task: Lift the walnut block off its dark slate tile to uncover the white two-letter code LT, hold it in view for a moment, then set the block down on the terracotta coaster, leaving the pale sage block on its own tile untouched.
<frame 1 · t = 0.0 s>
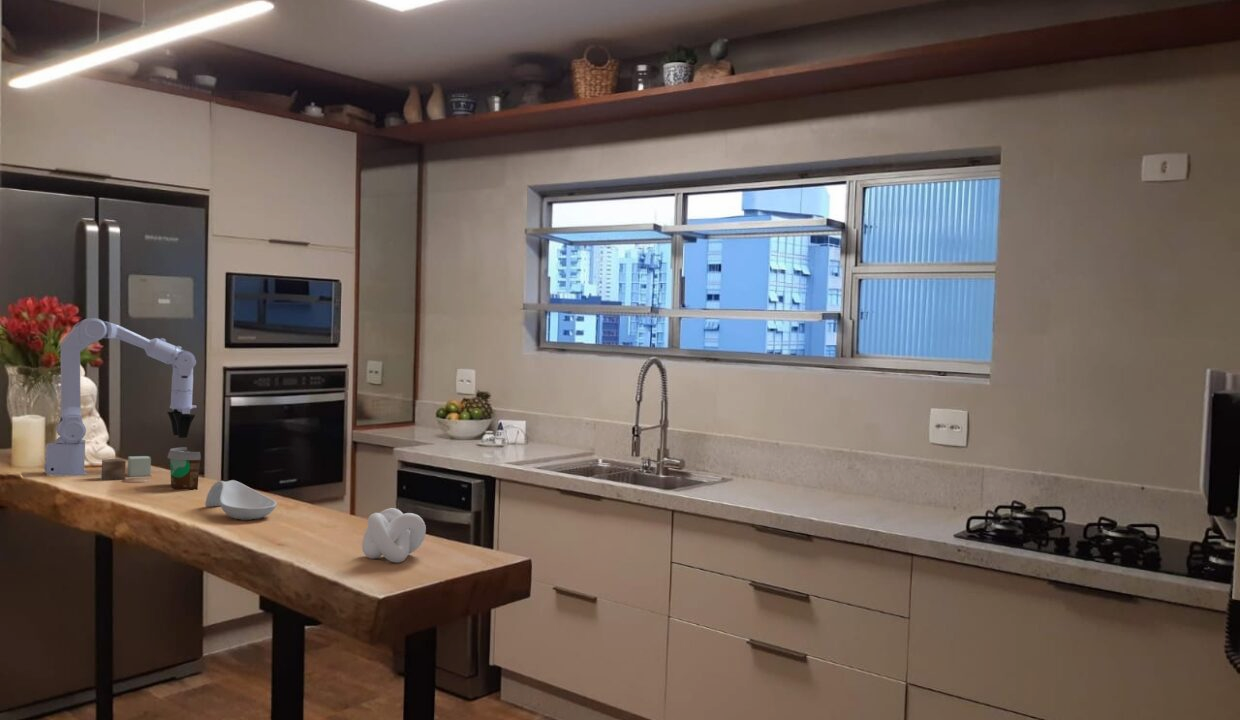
hand: (180, 436, 268), 10 cm above the worktop, tool pointing down, fingers open, 7 cm apart
grey knot sculpture: (387, 558, 172), on the worktop
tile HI: (138, 476, 254), on the worktop
walnut block: (113, 478, 246), resting on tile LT
spoon rest: (235, 515, 207), on the worktop
sage block: (138, 475, 254), resting on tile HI
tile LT: (113, 479, 246), on the worktop
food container: (179, 488, 239), on the worktop
coaster: (137, 482, 244), on the worktop
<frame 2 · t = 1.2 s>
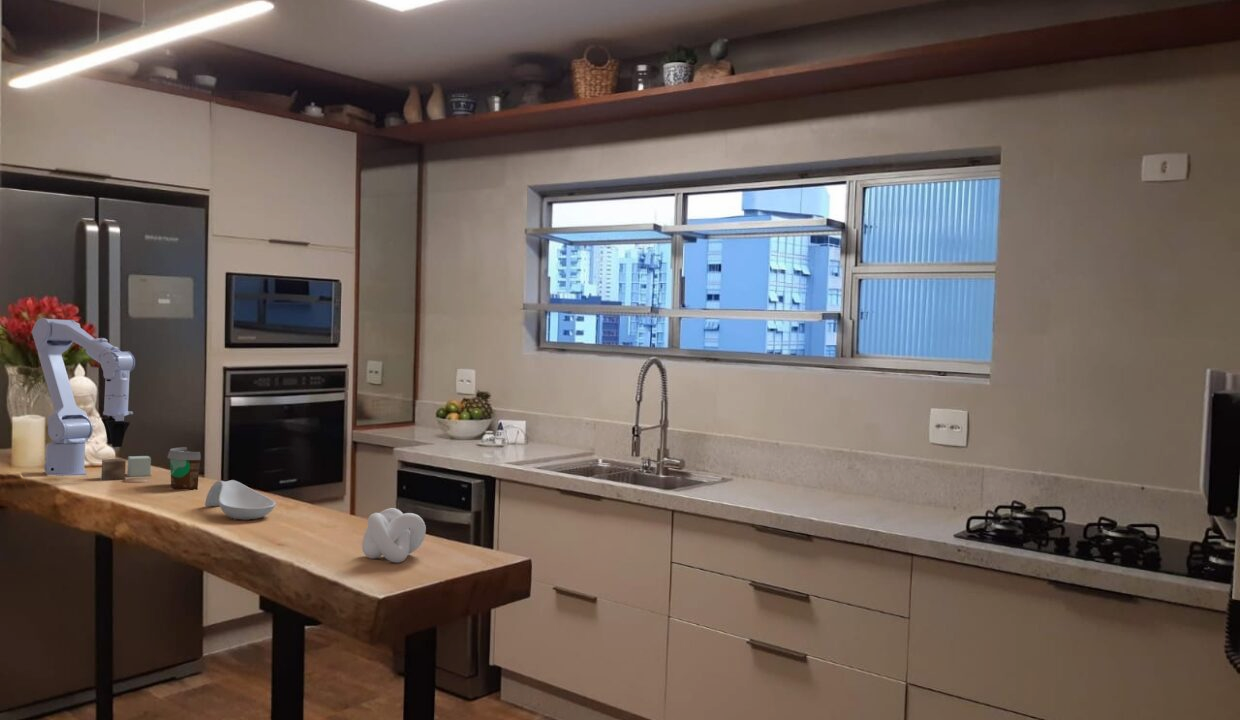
hand: (114, 445, 246), 9 cm above the worktop, tool pointing down, fingers open, 7 cm apart
nothing on the worktop moved.
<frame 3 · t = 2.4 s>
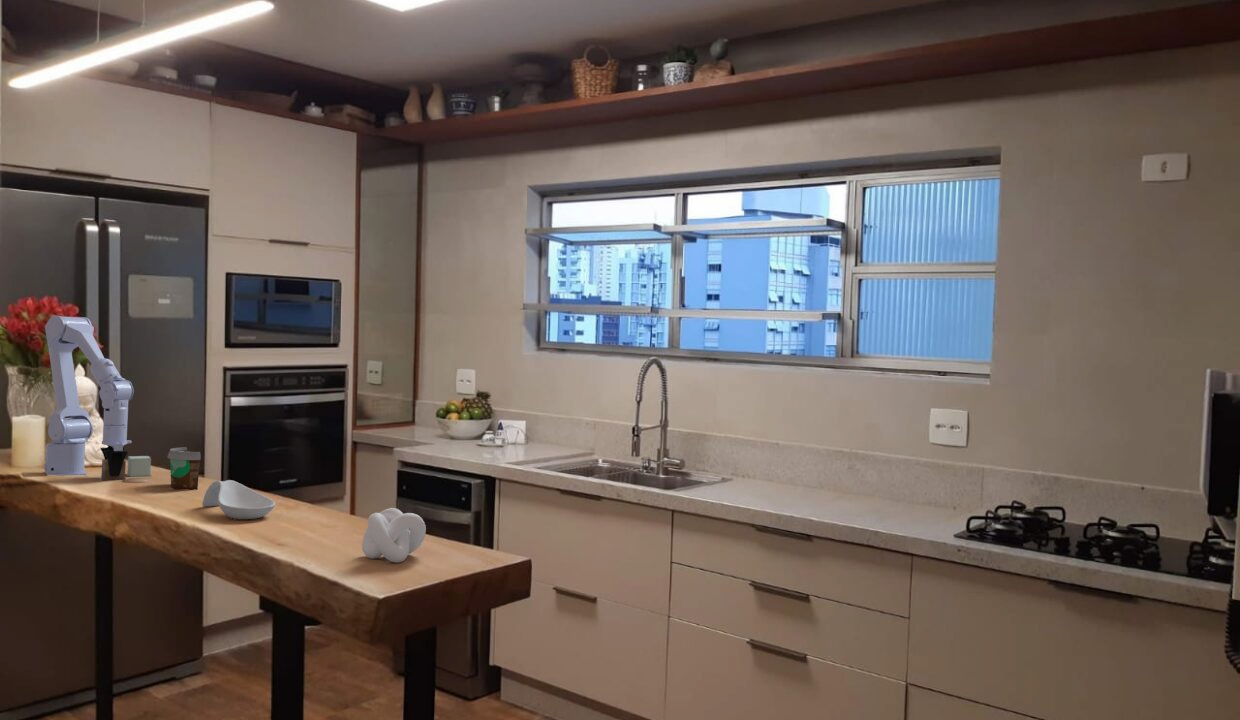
hand: (113, 474, 246), 1 cm above the worktop, tool pointing down, fingers closed on walnut block, 5 cm apart
walnut block: (113, 478, 246), resting on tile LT, touching gripper
everything else where it was.
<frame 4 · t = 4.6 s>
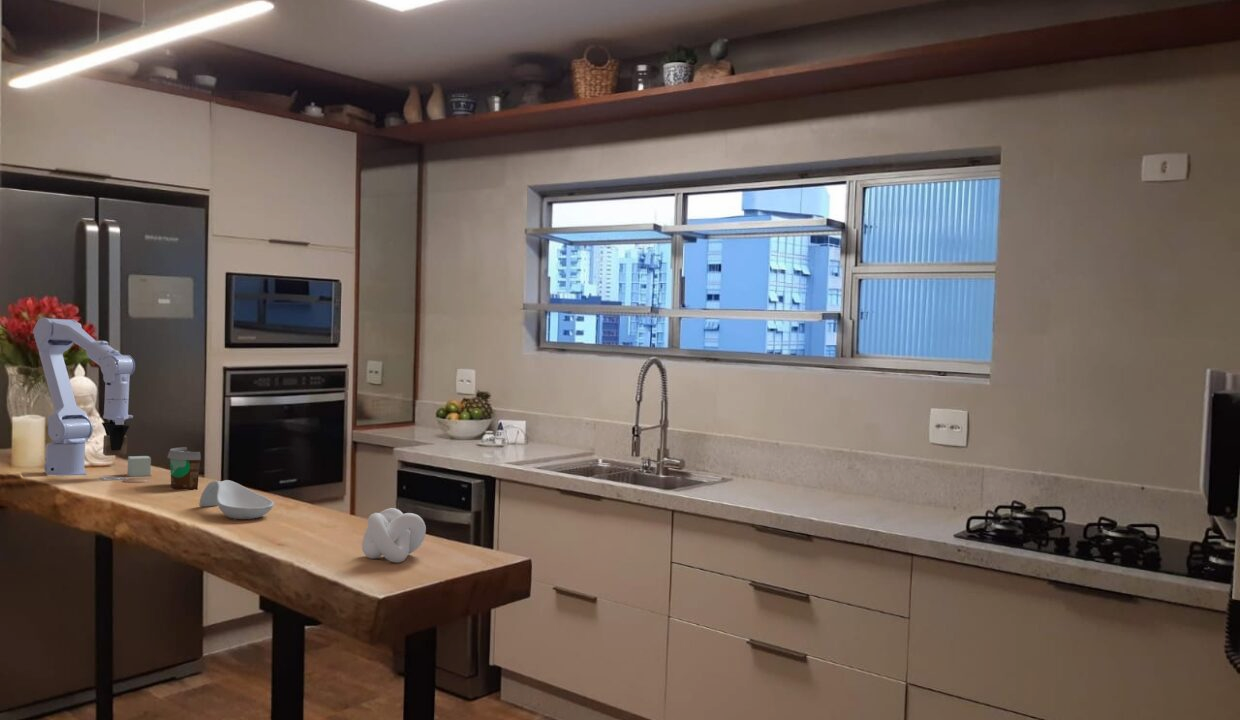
hand: (114, 449, 246), 8 cm above the worktop, tool pointing down, fingers closed on walnut block, 5 cm apart
walnut block: (114, 454, 246), point 7 cm above the worktop, touching gripper
when the fingers open (3 cm above the worktop, at t = 6.6 s): walnut block stays where it is, resting on coaster.
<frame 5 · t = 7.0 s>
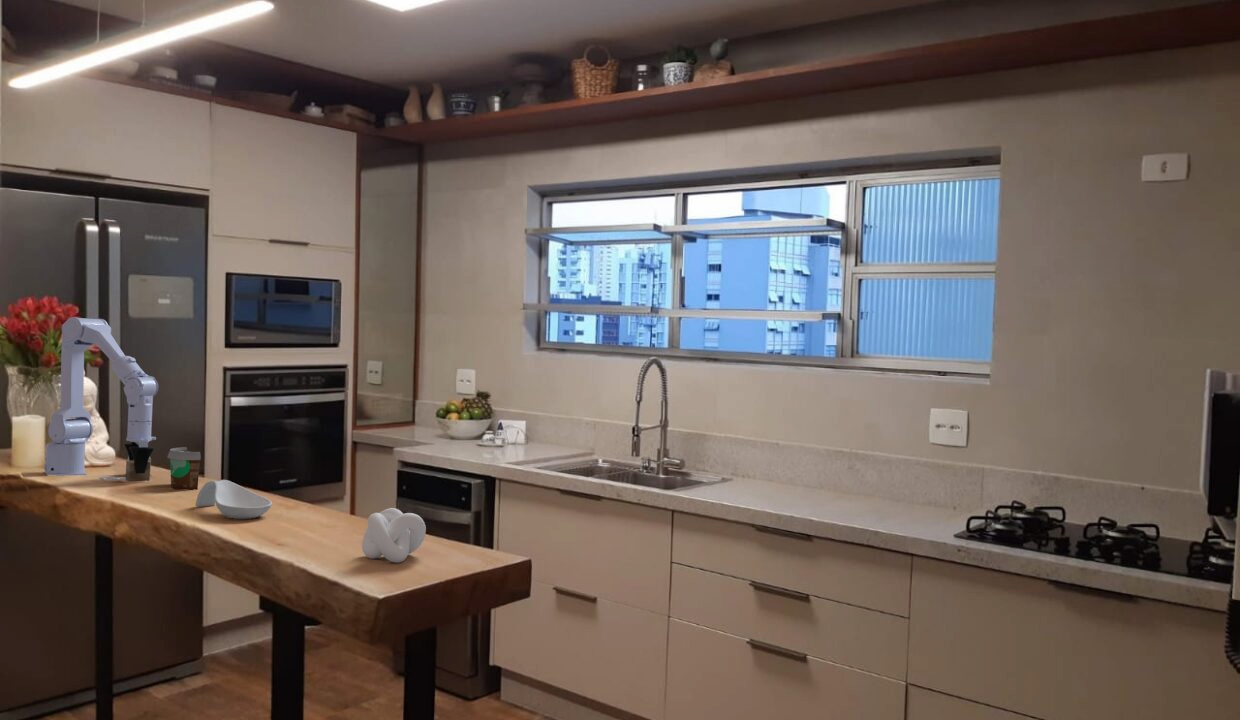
hand: (137, 471, 244), 3 cm above the worktop, tool pointing down, fingers open, 7 cm apart
walnut block: (137, 479, 244), point 1 cm above the worktop, touching coaster
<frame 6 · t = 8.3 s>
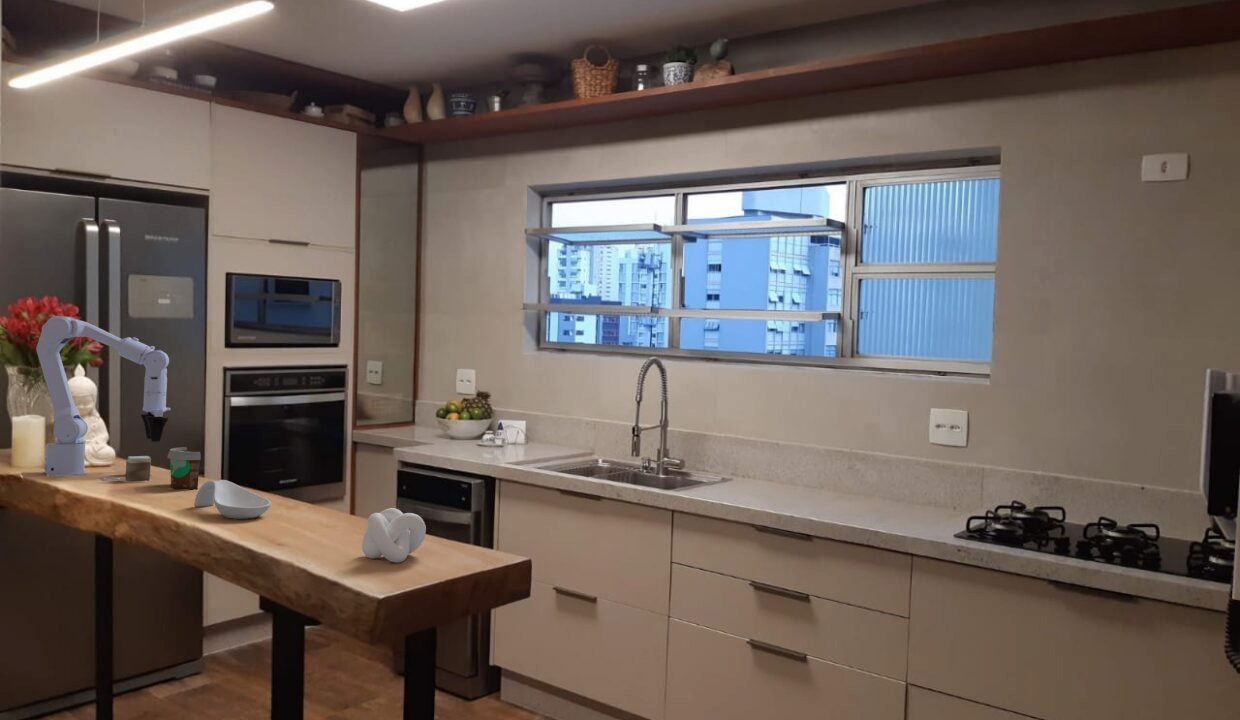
hand: (153, 440, 258), 10 cm above the worktop, tool pointing down, fingers open, 7 cm apart
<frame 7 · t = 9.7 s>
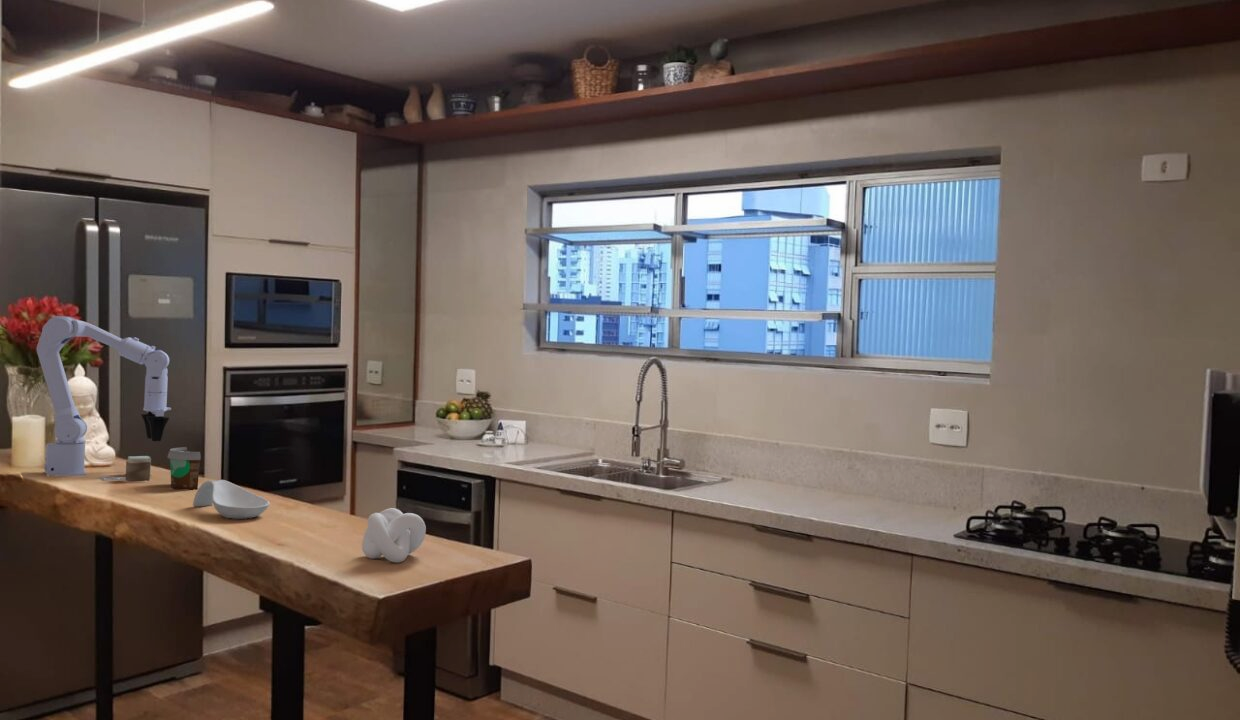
hand: (154, 439, 259), 10 cm above the worktop, tool pointing down, fingers open, 7 cm apart
at the end: walnut block inside the target area on the coaster (0.0 cm from its centre), point 0.6 cm above the coaster's base; walnut block tilted 0°; walnut block moved 7.8 cm from its start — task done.
